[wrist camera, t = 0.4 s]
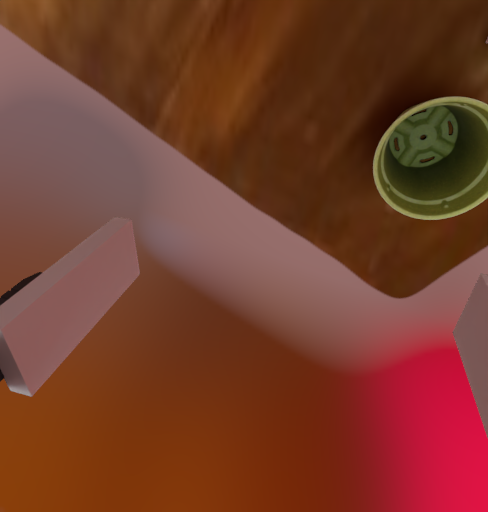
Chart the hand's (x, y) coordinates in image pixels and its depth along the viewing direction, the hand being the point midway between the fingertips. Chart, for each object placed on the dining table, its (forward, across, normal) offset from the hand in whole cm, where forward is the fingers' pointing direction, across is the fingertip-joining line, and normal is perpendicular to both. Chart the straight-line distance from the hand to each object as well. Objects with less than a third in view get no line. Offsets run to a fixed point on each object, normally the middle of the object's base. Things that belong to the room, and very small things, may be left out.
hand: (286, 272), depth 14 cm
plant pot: (+27, +9, 0) cm, 28 cm away
